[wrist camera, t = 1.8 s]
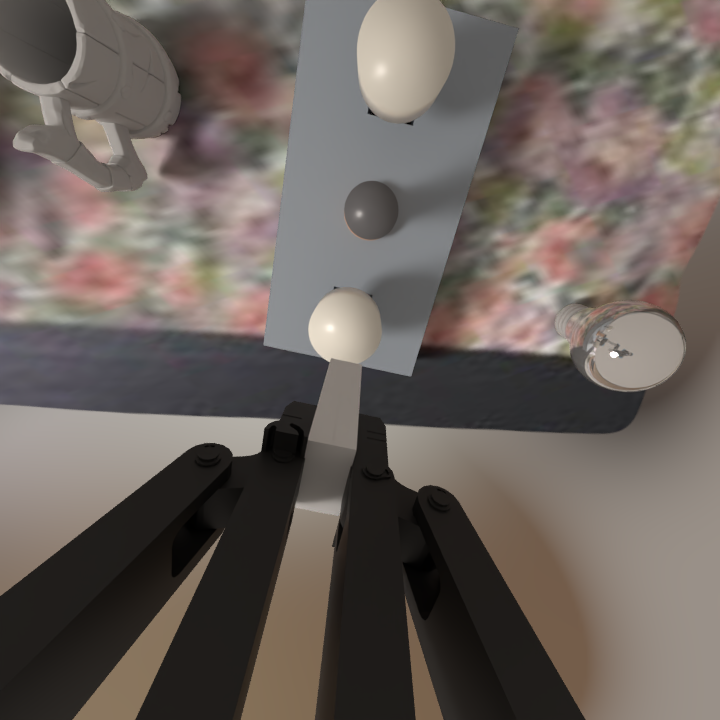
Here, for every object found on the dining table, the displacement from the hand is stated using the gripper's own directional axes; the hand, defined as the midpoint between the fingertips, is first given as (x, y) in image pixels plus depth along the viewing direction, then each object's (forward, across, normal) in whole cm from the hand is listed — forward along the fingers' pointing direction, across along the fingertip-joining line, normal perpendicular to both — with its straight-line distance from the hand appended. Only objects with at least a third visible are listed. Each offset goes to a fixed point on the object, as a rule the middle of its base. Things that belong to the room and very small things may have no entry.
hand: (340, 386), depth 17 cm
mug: (+19, -20, +11) cm, 30 cm away
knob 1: (+15, 0, 0) cm, 15 cm away
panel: (+19, 0, +8) cm, 20 cm away
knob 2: (+15, 0, +16) cm, 22 cm away
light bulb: (+19, +20, +3) cm, 28 cm away
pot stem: (+15, 0, +8) cm, 17 cm away
